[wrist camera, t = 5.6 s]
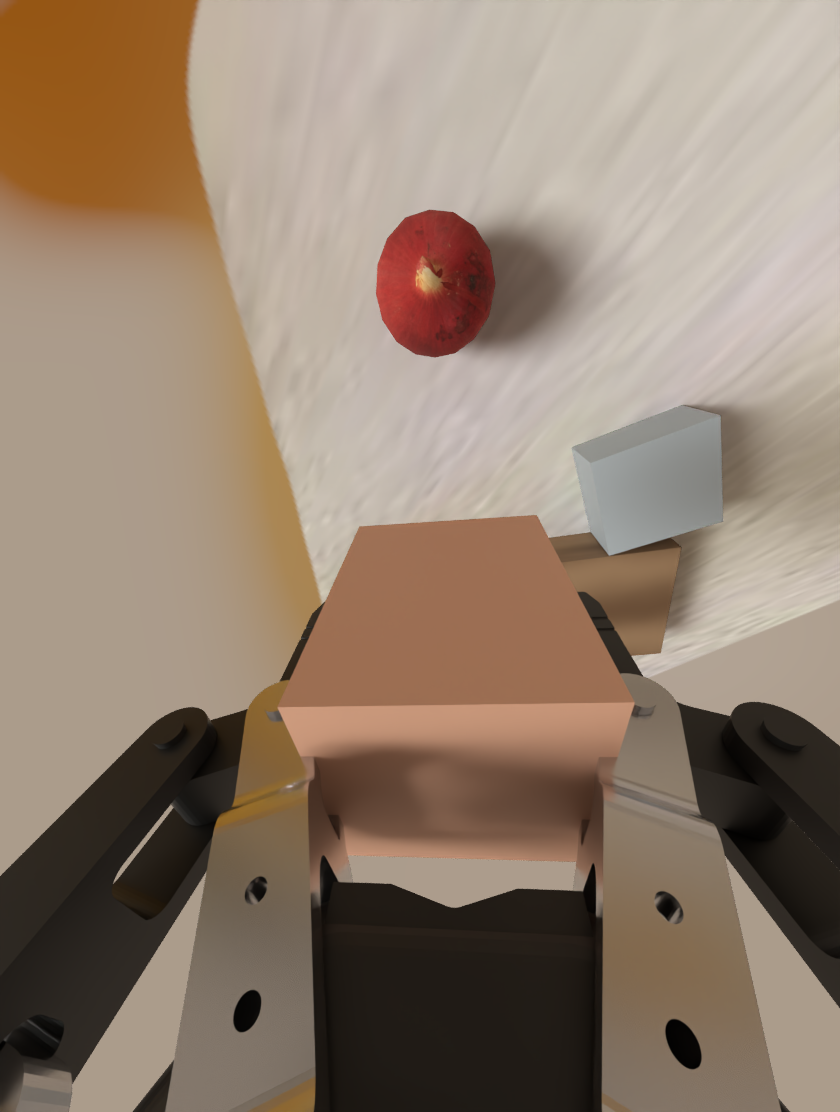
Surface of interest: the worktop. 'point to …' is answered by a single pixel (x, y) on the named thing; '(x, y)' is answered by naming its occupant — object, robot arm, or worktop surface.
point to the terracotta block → (456, 694)
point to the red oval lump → (435, 283)
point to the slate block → (652, 479)
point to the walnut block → (625, 585)
